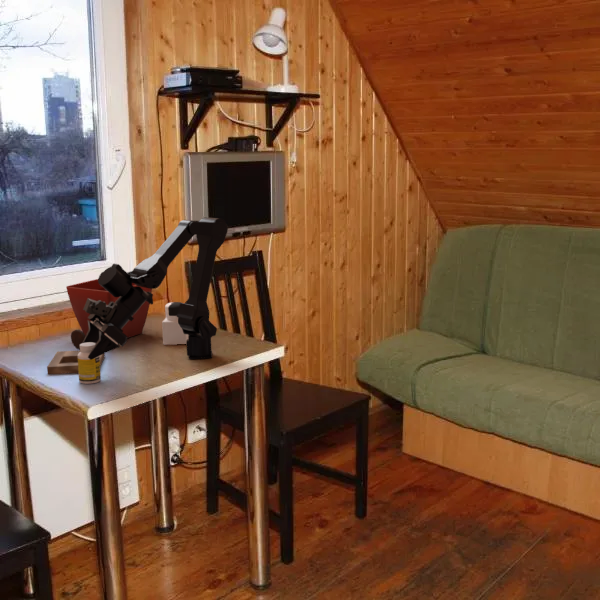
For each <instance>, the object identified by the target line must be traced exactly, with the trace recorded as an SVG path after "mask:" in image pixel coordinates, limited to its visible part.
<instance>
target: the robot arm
mask: <svg viewBox="0 0 600 600" xmlns="http://www.w3.org/2000/svg"><path fill="white" fill-rule="evenodd" d="M228 229H229V227H228V225H227V223H226V221H225V219H223V218H218V217H202V218H201V219H199V220H191V219H182V220H180V221H179V222H178V225H177V226H176V227H175V229H174V230H173V231H172V232H171V233H170V235H169V236H168V237H167V238H166V240H165V241H164V242H163V243H162V244H161V245H160V246H159V247H158V249H157V250H156V252H155V253H154V254H152V255H151V256H150V257H147V258H145V259H143V260H142V261H141V262H140V263H138V264H137V265H136V266H135V267H134V268H133V269H132V270H131V271H128V272H127V271H126V270H124V269H123V267H122V266H121V265H120V264H119V263H112V264H111V266H110V267H107V268H106V269H105V270H103V271H102V272H101V273H100V274H99V275H98V277H97V279H98V283H99V284H100V285H101V286H102V287H103V288H104V289H106V290H107V291H108V292H109V293H110V294H112V295H113V296H114V297H119V298H118V299H117V300H116V302H115V303H114V302H113V301H112V302H110V303H109V304H108V305H106V303H105V302H102V301H100V300H98V301H95V300H92V299H89V298H88V299H87V301H86V304H85V306H84V309H83V310H85V312H87V313H89V314H90V315H89V317H88V318H89V319H90V320H91V322H90V321H89V320H88V326H89V330H88V332H87V334H86V337H85V339H84V341H83V343H87V342H93V343H96V344H95V346H94V347H93V349H92V351H91V352H90V354H89V355H88V358H89V359H90V360H92V359H94V358H96V357H98V356H100V355H102V354H104V353H105V354H106V353H108V352H110V351H112V350H115V349H118V348H120V346H121V347H122V348H123V347H124V346H125V345H126V343H127V342H128V338H127V336H126V335H125V334H124V333H123V330H122V328H123V327H124V326H125V325H126V323H127V322H128V321H129V320H130V321H132V320H133V319H134V318H133V317H132V316H133V315H134V314H135V313H136V312H137V310H138V309H139V308H140V307H141V306H142V305H143V303H144V302H145V301H147V302H148V303H150V305H153V304H154V299H153V296H154V295H153V293H152V292H151V293H150V292H145V291H144V290H143V289H142V288H141V287H145V288H150V289H152V290H153V289H157V288H159V287H160V286H161V284H162V283H163V281H164V279H165V278H166V276H167V272H168V268H169V266H170V265H171V263H173V261H174V260H175V259H176V257H177V256H178V255H179V254H180V253H181V251H182V250H183V249H184V248H185V247H186V246H187V245H188V243H189V242H190V241H191V239H192V238H194V236H195V237H196V241H197V244H198V252H197V257H196V261H195V266H194V273H193V276H192V282H191V286H190V291H189V296H188V299H187V300H186V301H185V302H184V303H183V302H181V303H180V305H179V312H178V315H177V317H178V324H179V325H180V327H181V328H182V330H183V333H184V334H188V339H187V341H186V356H188V360H198V359H199V360H201V359H202V360H203V359H204V360H205V359H212V358H213V350H212V338H213V337H215V336H216V335H217V330H218V329H217V327H216V325H214V324H213V323H212V322H211V321H210V309H209V305H208V296H209V292H210V285H211V281H212V276H213V271H214V266H215V262H216V257H217V254H218V253H217V252H218V251H219V250H220V247H221V246H222V245H223V244H224V243H225V240H226V237H227V234H228V231H229V230H228ZM132 283H134V284H135V285H137V287H134V286H132ZM138 286H140V287H138ZM119 345H120V346H119Z"/></svg>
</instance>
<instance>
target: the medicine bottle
mask: <svg viewBox="0 0 600 600" xmlns="http://www.w3.org/2000/svg"><path fill="white" fill-rule="evenodd" d="M180 303H182V301H173V302H168V303H165V305H164V310H165V311H164V312H165V318H164V319H163V320H162V322H161V327H162V329H161V330H162V345H165V346H177V344H186V341H187V339H188V334H184V333H183V330H182V328H181V327H180V325H179V324H178V317H177V315H178V312H179V305H180ZM186 345H187V344H186Z"/></svg>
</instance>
